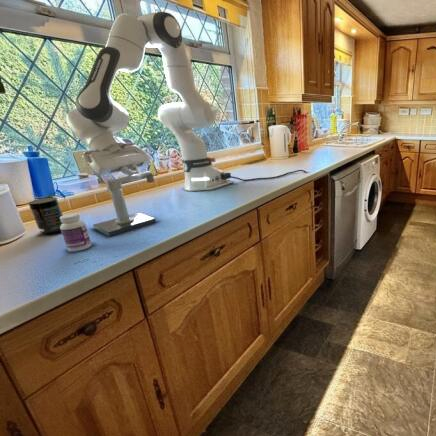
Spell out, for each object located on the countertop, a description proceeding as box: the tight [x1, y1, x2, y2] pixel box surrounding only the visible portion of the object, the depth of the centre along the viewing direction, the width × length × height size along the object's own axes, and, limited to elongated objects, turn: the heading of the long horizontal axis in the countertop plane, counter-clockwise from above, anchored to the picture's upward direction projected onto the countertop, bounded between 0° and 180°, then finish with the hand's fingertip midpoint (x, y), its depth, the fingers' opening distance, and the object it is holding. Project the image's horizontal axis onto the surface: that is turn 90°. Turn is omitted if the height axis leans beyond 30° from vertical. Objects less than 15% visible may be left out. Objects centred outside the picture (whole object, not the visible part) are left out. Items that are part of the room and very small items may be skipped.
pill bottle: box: [60, 212, 92, 252], centre depth 83 cm, size 5×5×10 cm
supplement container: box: [28, 197, 64, 236], centre depth 95 cm, size 7×7×10 cm
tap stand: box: [92, 188, 157, 237], centre depth 98 cm, size 14×12×12 cm
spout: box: [105, 170, 155, 192], centre depth 102 cm, size 17×4×4 cm, turn 165°
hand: (137, 176), depth 107 cm, fingers closed
